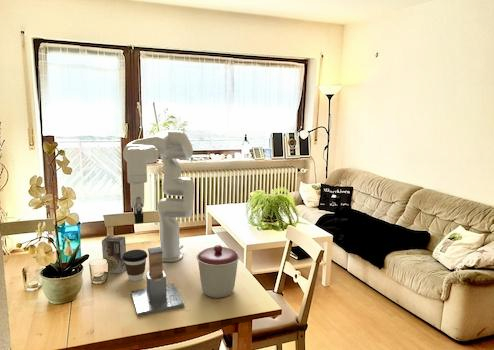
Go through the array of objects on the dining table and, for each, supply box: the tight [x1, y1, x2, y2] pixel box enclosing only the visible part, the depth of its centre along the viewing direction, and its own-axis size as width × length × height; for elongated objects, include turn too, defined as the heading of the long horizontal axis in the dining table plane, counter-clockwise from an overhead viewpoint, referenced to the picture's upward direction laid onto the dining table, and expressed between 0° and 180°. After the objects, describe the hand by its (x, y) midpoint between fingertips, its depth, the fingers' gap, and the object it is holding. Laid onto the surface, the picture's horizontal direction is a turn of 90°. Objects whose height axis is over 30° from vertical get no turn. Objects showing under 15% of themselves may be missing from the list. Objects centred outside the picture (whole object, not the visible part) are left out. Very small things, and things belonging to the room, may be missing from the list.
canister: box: [195, 244, 241, 299], centre depth 162 cm, size 18×18×21 cm
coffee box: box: [101, 235, 127, 274], centre depth 182 cm, size 9×6×16 cm
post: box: [147, 246, 164, 278], centre depth 154 cm, size 5×5×20 cm
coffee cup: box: [122, 249, 148, 282], centre depth 174 cm, size 11×11×12 cm
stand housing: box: [130, 270, 185, 318], centre depth 155 cm, size 18×18×12 cm
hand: (138, 219), depth 156 cm, fingers open, 9 cm apart
